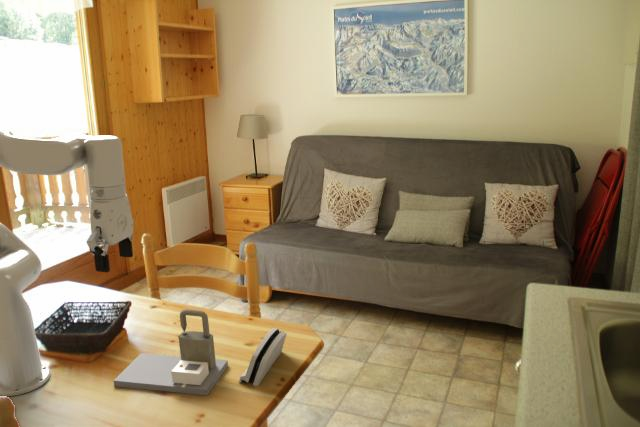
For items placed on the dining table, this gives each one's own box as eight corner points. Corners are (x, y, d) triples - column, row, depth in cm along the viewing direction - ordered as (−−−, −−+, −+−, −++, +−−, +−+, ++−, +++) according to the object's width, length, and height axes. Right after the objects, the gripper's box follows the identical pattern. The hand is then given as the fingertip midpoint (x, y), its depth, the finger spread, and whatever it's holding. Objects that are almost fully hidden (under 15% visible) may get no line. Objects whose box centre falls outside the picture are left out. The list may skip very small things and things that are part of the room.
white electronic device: (172, 382, 130) (171, 369, 129) (182, 371, 135) (180, 358, 134) (200, 385, 129) (198, 372, 128) (208, 373, 133) (207, 361, 132)
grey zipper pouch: (264, 349, 147) (273, 318, 144) (280, 356, 147) (290, 325, 143) (237, 383, 132) (248, 349, 128) (255, 392, 131) (266, 358, 128)
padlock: (188, 359, 140) (181, 305, 136) (217, 363, 138) (211, 308, 134) (180, 367, 137) (173, 312, 133) (210, 371, 135) (204, 315, 131)
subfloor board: (114, 386, 133) (113, 380, 132) (142, 358, 145) (141, 352, 145) (207, 395, 128) (206, 389, 127) (227, 365, 140) (227, 359, 140)
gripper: (100, 202, 114) (108, 279, 119) (143, 184, 131) (148, 252, 135) (68, 200, 116) (77, 276, 120) (114, 182, 132) (120, 250, 137)
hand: (115, 263), depth 128 cm, fingers open, 9 cm apart
